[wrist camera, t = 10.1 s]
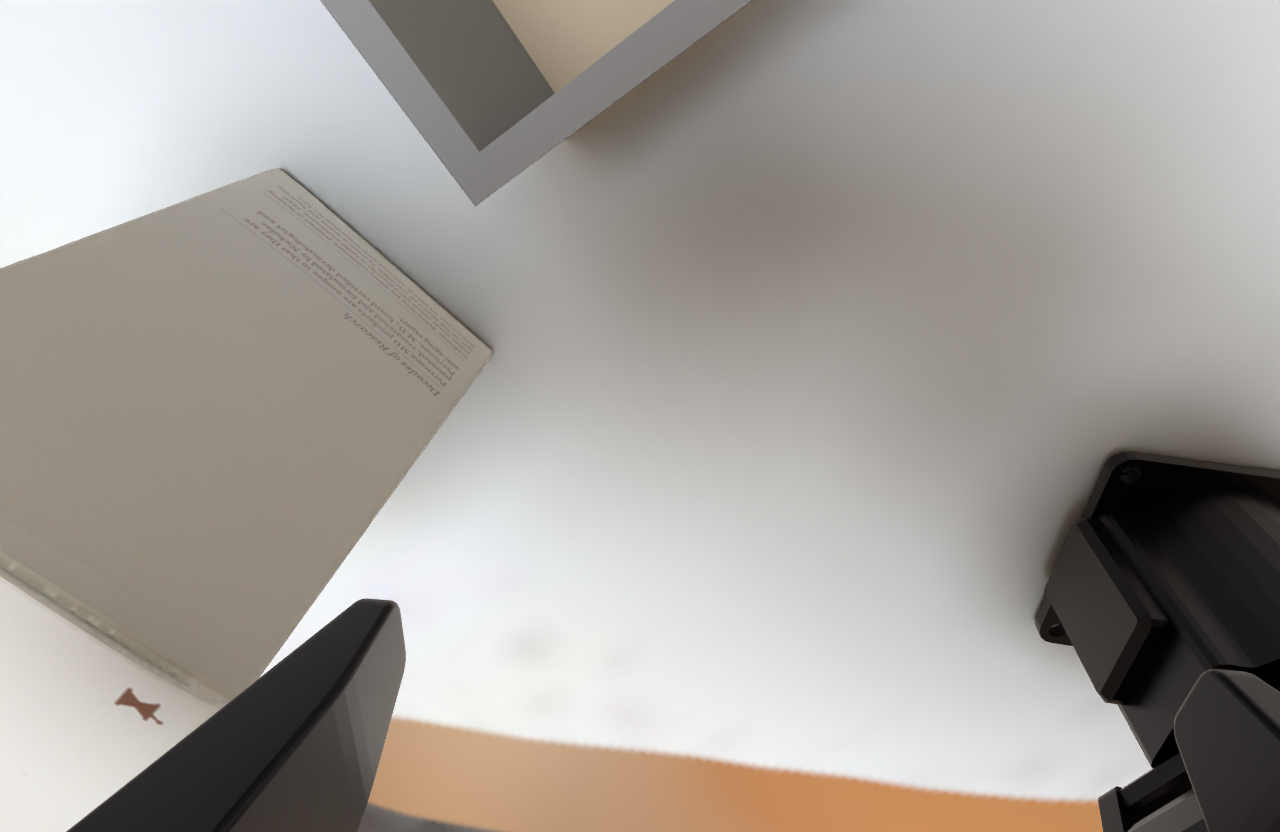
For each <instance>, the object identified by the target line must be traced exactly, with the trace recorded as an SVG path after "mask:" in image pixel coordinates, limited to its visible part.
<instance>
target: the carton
mask: <svg viewBox="0 0 1280 832" xmlns="http://www.w3.org/2000/svg"><path fill="white" fill-rule="evenodd" d="M320 1H321V2H322V3H323V5H324V6H325V7H326V8H327V10H328V11H329V12H330V14H331V15H332V16H333V18H334V19H335V20H336V22H337V23H338V24H339V26H340V27H341V28H342V30H343V31H344V32H345V34H346V35H347V36H348V38H349V39H350V40H351V42H352V43H353V44H354V46H355V47H356V48H357V50H358V51H359V52H360V54H361V55H362V56H363V58H364V59H365V60H366V62H367V63H368V64H369V66H370V67H371V68H372V70H373V71H374V72H375V74H376V75H377V76H378V78H379V79H380V80H381V82H382V83H383V84H384V86H385V87H386V88H387V90H388V91H389V92H390V94H391V95H392V96H393V98H394V99H395V100H396V102H397V103H398V104H399V106H400V107H401V108H402V110H403V111H404V112H405V114H406V115H407V116H408V117H409V119H410V120H411V121H412V123H413V124H414V125H415V127H416V128H417V129H418V131H419V132H420V133H421V135H422V136H423V137H424V139H425V140H426V141H427V143H428V144H429V145H430V147H431V148H432V149H433V151H434V152H435V153H436V155H437V156H438V157H439V159H440V160H441V161H442V163H443V164H444V165H445V167H446V168H447V169H448V171H449V172H450V173H451V175H452V176H453V177H454V179H455V180H456V181H457V183H458V184H459V185H460V187H461V188H462V189H463V191H464V192H465V193H466V195H467V196H468V197H469V199H470V200H471V201H472V203H473V204H474V205H475V206H476V205H478V204H479V203H480V202H482V201H483V200H484V199H486V198H487V197H488V196H490V195H491V194H492V193H494V192H495V191H496V190H498V189H499V188H501V187H502V186H503V185H505V184H506V183H507V182H509V181H510V180H511V179H513V178H514V177H515V176H517V175H518V174H519V173H521V172H522V171H523V170H525V169H526V168H527V167H529V166H530V165H531V164H533V163H534V162H535V161H537V160H538V159H539V158H541V157H542V156H543V155H545V154H546V153H547V152H549V151H550V150H551V149H553V148H554V147H556V146H557V145H558V144H560V143H561V142H562V141H564V140H565V139H566V138H568V137H569V136H570V135H572V134H573V133H574V132H576V131H577V130H578V129H580V128H581V127H582V126H584V125H585V124H586V123H588V122H589V121H590V120H592V119H593V118H594V117H596V116H597V115H598V114H600V113H601V112H602V111H604V110H605V109H606V108H608V107H609V106H611V105H612V104H613V103H615V102H616V101H617V100H619V99H620V98H621V97H623V96H624V95H625V94H627V93H628V92H629V91H631V90H632V89H633V88H635V87H636V86H637V85H639V84H640V83H641V82H643V81H644V80H645V79H647V78H648V77H649V76H651V75H652V74H653V73H655V72H656V71H657V70H659V69H660V68H661V67H663V66H664V65H666V64H667V63H668V62H670V61H671V60H672V59H674V58H675V57H676V56H678V55H679V54H680V53H682V52H683V51H684V50H686V49H687V48H688V47H690V46H691V45H692V44H694V43H695V42H696V41H698V40H699V39H700V38H702V37H703V36H704V35H706V34H707V33H708V32H710V31H711V30H712V29H714V28H715V27H717V26H718V25H719V24H721V23H722V22H723V21H725V20H726V19H727V18H729V17H730V16H731V15H733V14H734V13H735V12H737V11H738V10H739V9H741V8H742V7H743V6H745V5H746V4H747V3H749V2H750V1H751V0H320Z"/></svg>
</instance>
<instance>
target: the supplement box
mask: <svg viewBox="0 0 1280 832" xmlns="http://www.w3.org/2000/svg"><path fill="white" fill-rule="evenodd" d="M491 357H492V351H491V350H490V349H489V348H488V347H487V346H486V345H485V344H484V343H483V342H482V341H480V340H479V339H478V338H477V337H476V336H475V335H473V334H472V333H471V332H470V331H469V330H468V329H467V328H466V327H464V326H463V325H462V324H461V323H460V322H459V321H458V320H457V319H455V318H454V317H453V316H452V315H451V314H449V313H448V312H447V311H446V310H445V309H444V308H442V307H441V306H440V305H439V304H438V303H437V302H436V301H434V300H433V299H432V298H431V297H430V296H428V295H427V294H426V293H425V292H424V291H423V290H422V289H421V288H420V287H419V286H418V285H416V284H415V283H414V282H413V281H412V280H410V279H409V278H408V277H407V276H406V275H404V274H403V273H402V272H401V271H400V270H399V269H397V268H396V267H395V266H394V265H393V264H392V263H391V262H390V261H388V260H387V259H386V258H385V257H384V256H383V255H382V254H381V253H379V252H378V251H377V250H376V249H375V248H374V247H372V246H371V245H370V244H369V243H368V242H367V241H365V240H364V239H363V238H362V237H361V236H359V235H358V234H357V233H356V232H355V231H354V230H353V229H351V228H350V227H349V226H348V225H347V224H346V223H345V222H343V221H342V220H341V219H340V218H339V217H337V216H336V215H335V214H334V213H333V212H331V211H330V210H329V209H328V208H327V207H325V206H324V205H323V204H322V203H321V202H320V201H319V200H318V199H317V198H316V197H314V196H313V195H312V194H311V193H310V192H308V191H307V190H306V189H305V188H304V187H302V186H301V185H300V184H298V183H297V182H296V181H295V180H293V179H292V178H291V177H289V176H288V175H287V174H285V173H284V172H283V171H282V170H279V169H272V170H269V171H266V172H263V173H260V174H258V175H255V176H252V177H250V178H247V179H244V180H241V181H238V182H235V183H232V184H229V185H227V186H224V187H221V188H218V189H215V190H213V191H210V192H208V193H205V194H202V195H199V196H196V197H194V198H191V199H188V200H186V201H183V202H180V203H178V204H175V205H172V206H170V207H167V208H164V209H161V210H159V211H156V212H153V213H151V214H148V215H145V216H142V217H140V218H137V219H134V220H131V221H129V222H126V223H123V224H120V225H118V226H115V227H112V228H110V229H107V230H104V231H101V232H99V233H96V234H93V235H90V236H88V237H85V238H82V239H80V240H77V241H74V242H72V243H69V244H66V245H64V246H61V247H58V248H56V249H53V250H51V251H48V252H45V253H42V254H39V255H37V256H34V257H31V258H28V259H25V260H22V261H19V262H17V263H14V264H11V265H9V266H6V267H4V268H1V269H0V832H66V831H67V830H69V829H70V828H71V827H72V826H74V825H75V824H76V823H78V822H79V821H80V820H81V819H83V818H84V817H85V816H86V815H88V814H89V813H90V812H91V811H93V810H94V809H95V808H96V807H98V806H99V805H100V804H101V803H103V802H104V801H105V800H107V799H108V798H109V797H110V796H112V795H113V794H114V793H115V792H117V791H118V790H119V789H120V788H122V787H123V786H124V785H125V784H127V783H128V782H129V781H130V780H132V779H133V778H134V777H136V776H137V775H138V774H139V773H141V772H142V771H143V770H144V769H146V768H147V767H148V766H149V765H151V764H152V763H153V762H154V761H156V760H157V759H158V758H159V757H161V756H162V755H163V754H165V753H166V752H167V751H168V750H170V749H171V748H172V747H173V746H175V745H176V744H177V743H178V742H180V741H181V740H182V739H183V738H185V737H186V736H187V735H189V734H190V733H191V732H192V731H194V730H195V729H196V728H197V727H199V726H200V725H201V724H202V723H204V722H205V721H206V720H207V719H209V718H210V717H211V716H212V715H214V714H215V713H216V712H218V711H219V710H220V709H221V708H223V707H224V706H225V705H226V704H228V703H229V702H230V701H231V700H233V699H234V698H235V697H236V696H238V695H239V694H240V693H241V692H243V691H244V690H245V689H247V688H248V687H249V686H250V685H252V684H253V683H254V682H255V681H257V680H258V678H259V677H260V676H261V674H262V673H263V672H264V670H265V669H266V667H267V666H268V665H269V663H270V662H271V661H272V659H273V658H274V656H275V655H276V654H277V652H278V651H279V650H280V648H281V647H282V646H283V644H284V643H285V641H286V640H287V639H288V637H289V636H290V634H291V633H292V632H293V630H294V629H295V628H296V626H297V625H298V623H299V622H300V621H301V619H302V618H303V616H304V615H305V614H306V612H307V611H308V609H309V608H310V607H311V605H312V604H313V603H314V601H315V600H316V599H317V597H318V596H319V594H320V593H321V592H322V590H323V589H324V588H325V586H326V585H327V583H328V582H329V581H330V579H331V578H332V576H333V575H334V574H335V572H336V571H337V569H338V568H339V567H340V565H341V564H342V562H343V561H344V560H345V558H346V557H347V555H348V554H349V553H350V551H351V550H352V549H353V547H354V546H355V544H356V543H357V542H358V540H359V539H360V538H361V536H362V535H363V534H364V532H365V531H366V529H367V528H368V526H369V525H370V524H371V522H372V521H373V519H374V518H375V517H376V515H377V514H378V512H379V511H380V510H381V508H382V507H383V505H384V504H385V503H386V501H387V500H388V499H389V497H390V496H391V494H392V493H393V492H394V490H395V489H396V488H397V486H398V485H399V483H400V482H401V481H402V479H403V478H404V476H405V475H406V474H407V472H408V471H409V469H410V468H411V467H412V465H413V464H414V462H415V461H416V460H417V458H418V457H419V456H420V454H421V453H422V452H423V450H424V449H425V447H426V446H427V445H428V443H429V442H430V440H431V439H432V438H433V436H434V435H435V433H436V432H437V430H438V429H439V428H440V426H441V425H442V423H443V422H444V420H445V419H446V418H447V416H448V415H449V414H450V412H451V411H452V410H453V408H454V407H455V405H456V404H457V403H458V401H459V400H460V399H461V397H462V396H463V395H464V393H465V392H466V391H467V389H468V388H469V386H470V385H471V384H472V382H473V381H474V379H475V378H476V376H477V375H478V374H479V372H480V371H481V370H482V368H483V367H484V366H485V364H486V363H487V362H488V361H489V360H490V358H491Z"/></svg>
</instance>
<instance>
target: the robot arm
mask: <svg viewBox="0 0 1280 832" xmlns="http://www.w3.org/2000/svg"><path fill="white" fill-rule="evenodd" d="M1131 467H1134V470H1133V471H1132V472H1131V473H1129V474H1127V475H1122V476H1120V475H1121V473H1122V472H1123V471H1124V470H1125V469H1127V468H1131ZM1045 593H1046V594H1047V595H1046V597H1045V599H1044V601H1043V603H1042V606H1041V608H1040V610H1039V612H1038V614H1037V617H1036V620H1035V625H1036V628H1037V630H1038V632H1039V634H1040V636H1041V638H1043V639H1044V640H1045V641H1047V642H1051V643H1056V644H1063V645H1070V646H1074V648H1075V650H1076V652H1077V654H1078V656H1079V658H1080V660H1081V662H1082V664H1083V666H1084V668H1085V670H1086V671H1087V673H1088V675H1089V677H1090V679H1091V681H1092V683H1093V685H1094V687H1095V689H1096V691H1097V692H1098V694H1099V695H1100V696H1101V698H1102V699H1103V700H1104V701H1105V702H1106V703H1113V704H1118V706H1119V708H1120V710H1121V712H1122V713H1123V715H1124V717H1125V719H1126V721H1127V723H1128V725H1129V726H1130V728H1131V730H1132V732H1133V734H1134V736H1135V738H1136V739H1137V741H1138V743H1139V745H1140V747H1141V749H1142V750H1143V752H1144V754H1145V756H1146V758H1147V760H1148V762H1149V763H1150V765H1151V767H1152V768H1153V769H1152V770H1150V771H1149V772H1147V773H1145V774H1144V775H1142V776H1141V777H1139V778H1138V779H1136V780H1135V781H1133V782H1131V783H1130V784H1128V785H1127V786H1125V787H1124V788H1121V787H1118V786H1117V787H1115V788H1113V789H1112V790H1110V791H1109V792H1107V793H1106V794H1104V795H1102V796H1101V797H1099V798H1098V802H1099V808H1100V813H1101V820H1102V826H1103V832H1280V471H1273V470H1265V469H1258V468H1250V467H1243V466H1236V465H1228V464H1221V463H1213V462H1206V461H1198V460H1191V459H1183V458H1176V457H1168V456H1161V455H1153V454H1146V453H1138V452H1122V453H1119V454H1116V455H1114V456H1113V457H1111V458H1110V459H1109V460H1108V461H1107V463H1106V464H1105V466H1104V468H1103V470H1102V473H1101V475H1100V477H1099V479H1098V482H1097V484H1096V486H1095V488H1094V490H1093V493H1092V495H1091V497H1090V499H1089V501H1088V504H1087V506H1086V508H1085V510H1084V513H1083V515H1082V517H1081V518H1080V519H1079V520H1078V521H1077V522H1076V523H1075V524H1074V525H1073V527H1072V529H1071V532H1070V534H1069V536H1068V538H1067V540H1066V543H1065V545H1064V547H1063V549H1062V552H1061V554H1060V556H1059V558H1058V561H1057V563H1056V565H1055V567H1054V569H1053V572H1052V574H1051V576H1050V578H1049V581H1048V583H1047V585H1046V587H1045ZM1055 624H1059V625H1058V626H1056V627H1051V626H1052V625H1055ZM405 660H406V651H405V643H404V636H403V628H402V621H401V614H400V609H399V606H398V605H397V603H396V602H394V601H390V600H378V599H361V600H359V601H357V602H355V603H354V604H352V605H351V606H350V607H349V608H347V609H346V610H345V611H344V612H342V613H341V614H340V615H339V616H337V617H336V618H335V619H334V620H332V621H331V622H330V623H329V624H327V625H326V626H325V627H323V628H322V629H321V630H320V631H318V632H317V633H316V634H315V635H313V636H312V637H311V638H310V639H308V640H307V641H306V642H305V643H303V644H302V645H301V646H299V647H298V648H297V649H296V650H294V651H293V652H292V653H291V654H289V655H288V656H287V657H286V658H284V659H283V660H282V661H281V662H279V663H278V664H277V665H276V666H274V667H273V668H272V669H270V670H269V671H268V672H267V673H265V674H264V675H263V676H262V677H260V678H259V679H258V680H257V681H255V682H254V683H253V684H252V685H250V686H249V687H248V688H247V689H245V690H244V691H243V692H241V693H240V694H239V695H238V696H236V697H235V698H234V699H233V700H231V701H230V702H229V703H228V704H226V705H225V706H224V707H223V708H221V709H220V710H219V711H218V712H216V713H215V714H214V715H212V716H211V717H210V718H209V719H207V720H206V721H205V722H204V723H202V724H201V725H200V726H199V727H197V728H196V729H195V730H194V731H192V732H191V733H190V734H189V735H187V736H186V737H185V738H183V739H182V740H181V741H180V742H178V743H177V744H176V745H175V746H173V747H172V748H171V749H170V750H168V751H167V752H166V753H165V754H163V755H162V756H161V757H159V758H158V759H157V760H156V761H154V762H153V763H152V764H151V765H149V766H148V767H147V768H146V769H144V770H143V771H142V772H141V773H139V774H138V775H137V776H136V777H134V778H133V779H132V780H130V781H129V782H128V783H127V784H125V785H124V786H123V787H122V788H120V789H119V790H118V791H117V792H115V793H114V794H113V795H112V796H110V797H109V798H108V799H107V800H105V801H104V802H103V803H101V804H100V805H99V806H98V807H96V808H95V809H94V810H93V811H91V812H90V813H89V814H88V815H86V816H85V817H84V818H83V819H81V820H80V821H79V822H78V823H76V824H75V825H74V826H72V827H71V828H70V829H69V830H67V831H66V832H357V830H358V827H359V825H360V822H361V819H362V816H363V814H364V811H365V808H366V805H367V802H368V799H369V795H370V792H371V789H372V785H373V782H374V778H375V774H376V771H377V768H378V764H379V760H380V757H381V753H382V749H383V746H384V742H385V738H386V735H387V731H388V727H389V724H390V720H391V717H392V713H393V710H394V706H395V702H396V699H397V695H398V691H399V688H400V684H401V680H402V677H403V673H404V668H405Z"/></svg>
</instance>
